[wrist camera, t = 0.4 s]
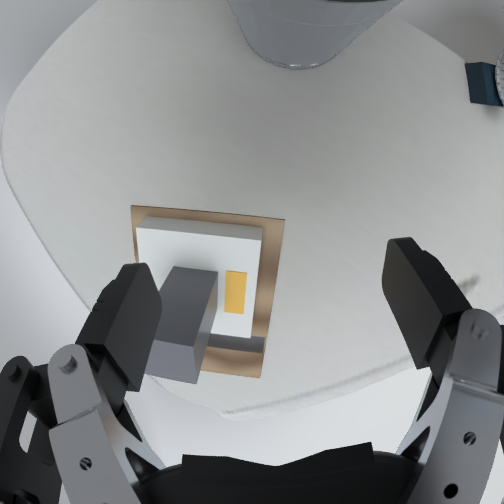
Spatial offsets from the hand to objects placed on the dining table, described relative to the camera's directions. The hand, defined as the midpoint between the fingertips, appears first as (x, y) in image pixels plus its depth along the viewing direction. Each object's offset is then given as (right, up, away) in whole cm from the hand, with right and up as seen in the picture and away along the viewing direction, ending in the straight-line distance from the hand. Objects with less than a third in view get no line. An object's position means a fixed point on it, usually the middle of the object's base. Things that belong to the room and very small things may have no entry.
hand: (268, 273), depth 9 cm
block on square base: (-6, -2, +22) cm, 23 cm away
